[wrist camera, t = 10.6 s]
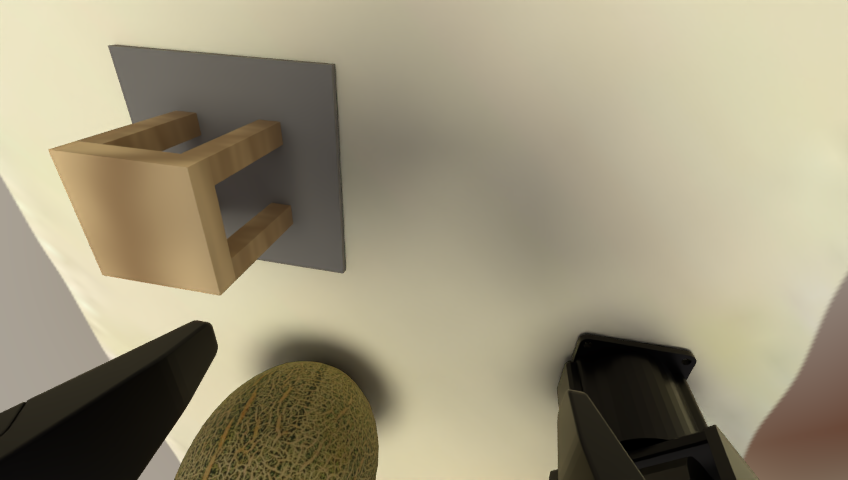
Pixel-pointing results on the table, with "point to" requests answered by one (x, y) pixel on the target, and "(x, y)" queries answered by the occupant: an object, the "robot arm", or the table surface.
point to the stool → (168, 201)
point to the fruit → (288, 429)
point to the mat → (243, 104)
